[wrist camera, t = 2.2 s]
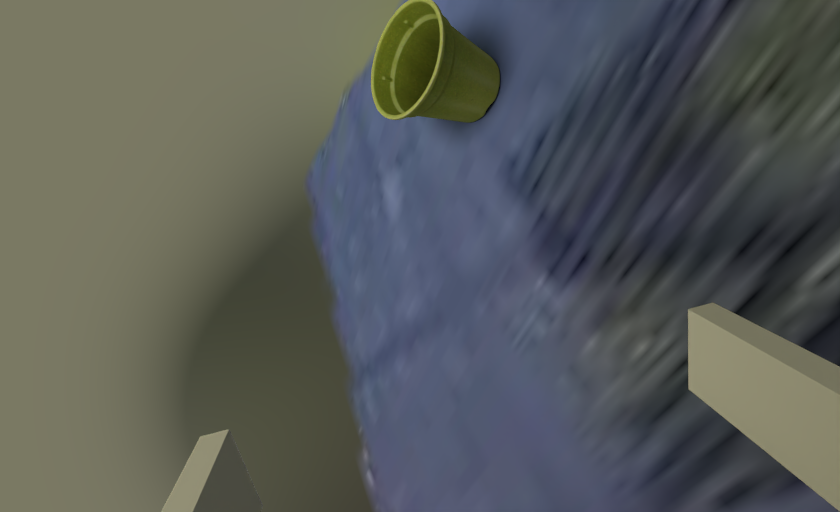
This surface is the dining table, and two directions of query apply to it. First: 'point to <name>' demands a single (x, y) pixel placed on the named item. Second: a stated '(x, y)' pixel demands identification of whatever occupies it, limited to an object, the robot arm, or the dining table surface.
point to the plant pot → (430, 68)
